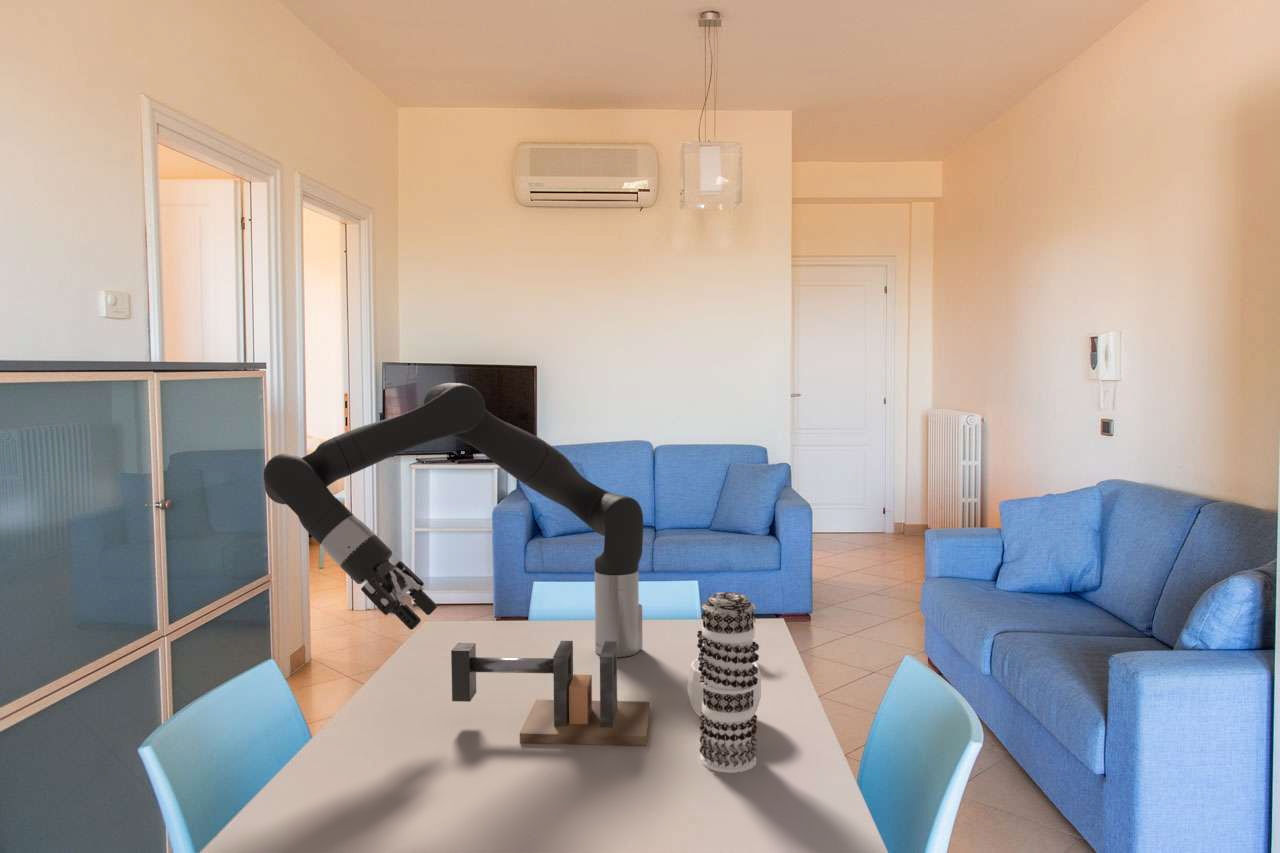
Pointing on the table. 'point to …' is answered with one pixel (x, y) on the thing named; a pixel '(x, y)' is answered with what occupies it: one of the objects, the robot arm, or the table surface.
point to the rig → (607, 716)
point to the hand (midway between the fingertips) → (425, 618)
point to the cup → (697, 690)
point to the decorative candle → (728, 683)
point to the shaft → (487, 668)
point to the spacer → (580, 699)
